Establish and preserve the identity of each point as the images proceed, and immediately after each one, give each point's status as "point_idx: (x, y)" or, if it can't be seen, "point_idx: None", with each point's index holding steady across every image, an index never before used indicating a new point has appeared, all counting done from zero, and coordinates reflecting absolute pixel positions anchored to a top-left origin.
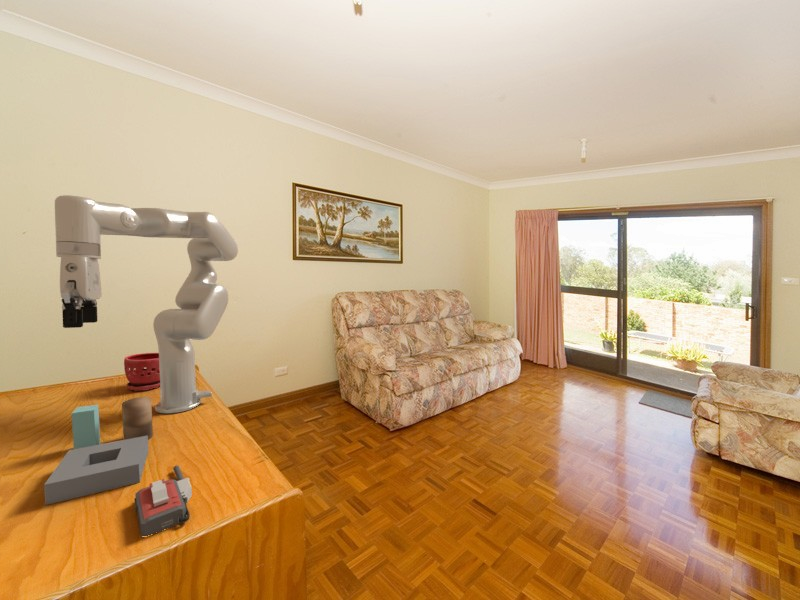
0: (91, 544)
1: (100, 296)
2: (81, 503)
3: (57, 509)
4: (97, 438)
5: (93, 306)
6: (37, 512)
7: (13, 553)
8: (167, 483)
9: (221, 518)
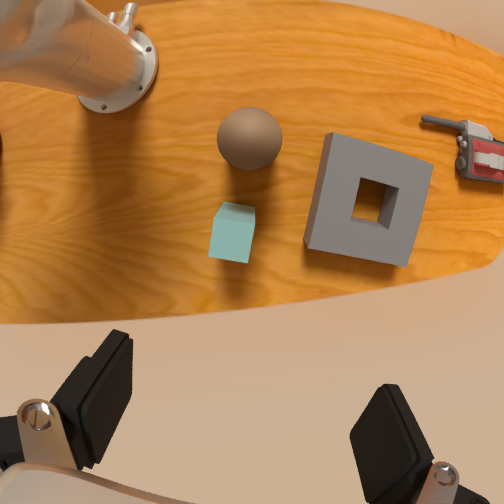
0: (485, 217)
1: (77, 488)
2: None
3: None
4: (242, 207)
5: (78, 421)
6: None
7: (454, 270)
8: (475, 145)
9: None
